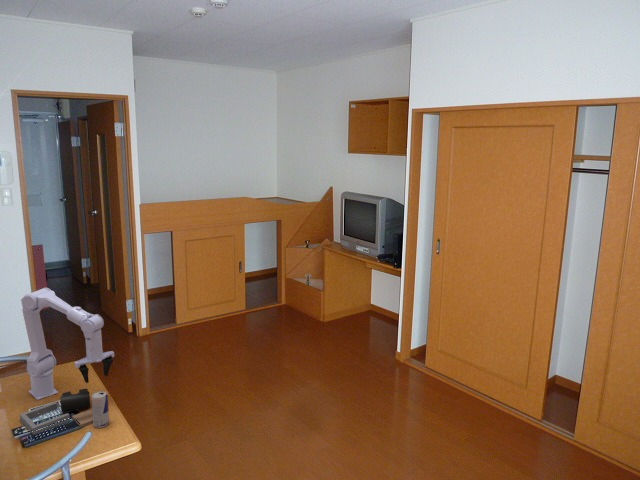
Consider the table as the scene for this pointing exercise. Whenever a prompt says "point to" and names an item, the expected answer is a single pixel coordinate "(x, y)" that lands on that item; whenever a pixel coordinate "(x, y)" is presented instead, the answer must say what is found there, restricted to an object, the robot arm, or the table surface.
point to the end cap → (75, 400)
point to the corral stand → (42, 410)
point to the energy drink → (100, 409)
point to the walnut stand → (84, 418)
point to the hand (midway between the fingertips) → (96, 378)
